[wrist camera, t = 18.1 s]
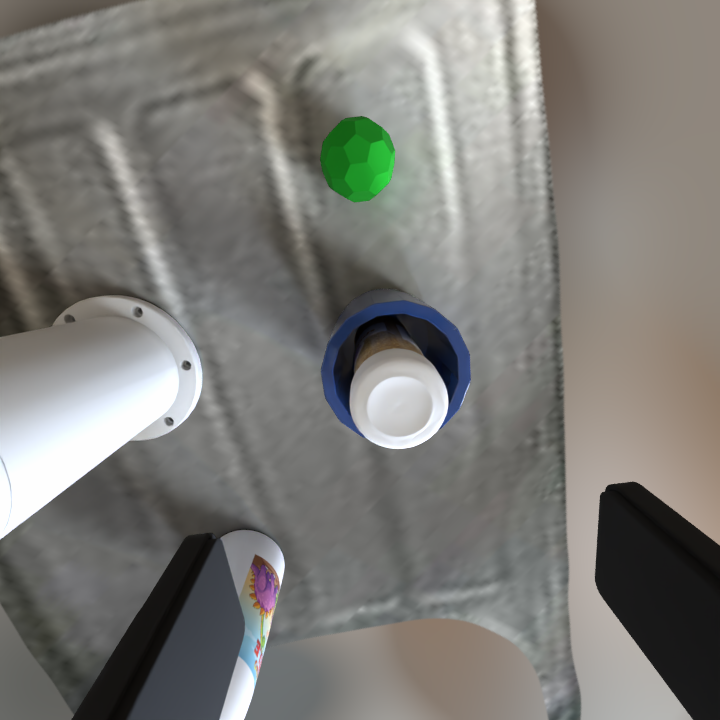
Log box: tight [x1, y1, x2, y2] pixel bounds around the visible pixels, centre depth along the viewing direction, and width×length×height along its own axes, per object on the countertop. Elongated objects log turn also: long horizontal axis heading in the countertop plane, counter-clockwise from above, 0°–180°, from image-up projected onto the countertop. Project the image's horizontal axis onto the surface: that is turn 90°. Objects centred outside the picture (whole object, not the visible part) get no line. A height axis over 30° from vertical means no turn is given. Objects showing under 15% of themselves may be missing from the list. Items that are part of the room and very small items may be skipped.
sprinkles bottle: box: [350, 315, 448, 449], centre depth 22 cm, size 5×5×14 cm
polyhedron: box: [320, 116, 395, 202], centre depth 24 cm, size 5×5×5 cm
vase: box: [321, 288, 471, 438], centre depth 25 cm, size 8×8×10 cm
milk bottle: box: [219, 530, 285, 720], centre depth 26 cm, size 8×8×20 cm
